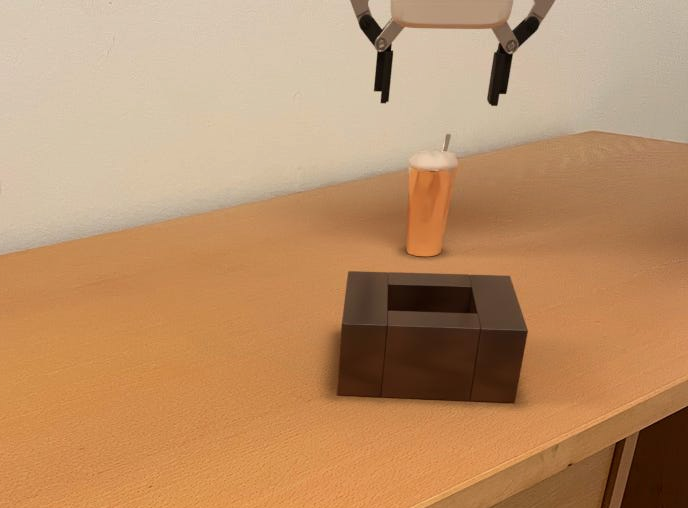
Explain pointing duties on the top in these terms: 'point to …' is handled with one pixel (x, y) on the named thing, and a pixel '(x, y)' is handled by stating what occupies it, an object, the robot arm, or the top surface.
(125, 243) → the top surface
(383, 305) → the holder
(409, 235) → the milkshake
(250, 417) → the top surface
